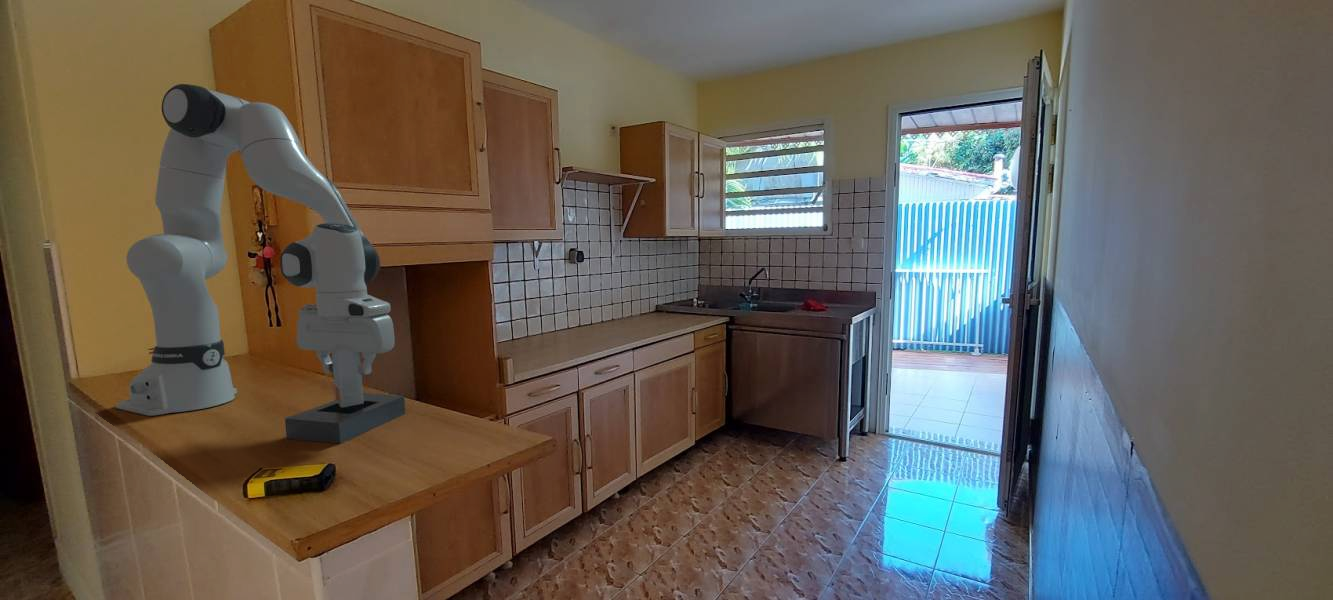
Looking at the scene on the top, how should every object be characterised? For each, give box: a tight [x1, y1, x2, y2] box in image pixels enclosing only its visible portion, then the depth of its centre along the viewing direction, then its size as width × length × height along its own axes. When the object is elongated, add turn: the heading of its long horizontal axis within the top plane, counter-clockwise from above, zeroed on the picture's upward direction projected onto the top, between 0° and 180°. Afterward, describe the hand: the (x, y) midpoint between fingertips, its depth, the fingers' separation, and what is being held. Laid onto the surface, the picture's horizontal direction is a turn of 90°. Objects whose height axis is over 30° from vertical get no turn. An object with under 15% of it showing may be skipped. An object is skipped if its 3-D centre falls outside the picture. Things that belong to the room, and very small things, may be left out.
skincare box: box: [331, 347, 364, 408], centre depth 110 cm, size 6×4×12 cm
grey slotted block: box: [284, 392, 406, 445], centre depth 111 cm, size 12×18×4 cm, turn 168°
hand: (347, 372), depth 110 cm, fingers closed on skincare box, 7 cm apart
